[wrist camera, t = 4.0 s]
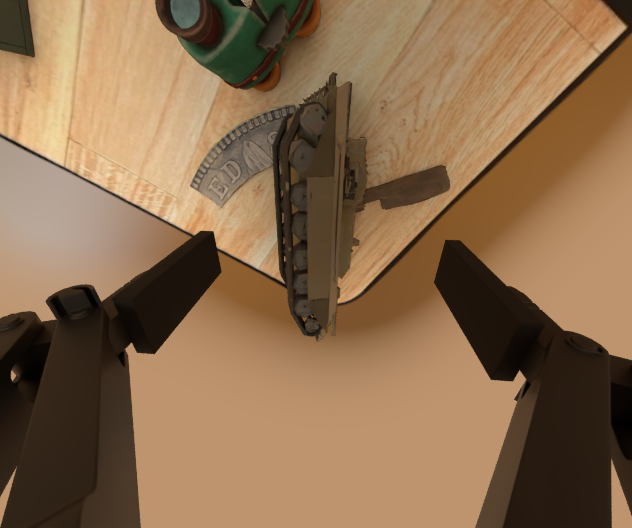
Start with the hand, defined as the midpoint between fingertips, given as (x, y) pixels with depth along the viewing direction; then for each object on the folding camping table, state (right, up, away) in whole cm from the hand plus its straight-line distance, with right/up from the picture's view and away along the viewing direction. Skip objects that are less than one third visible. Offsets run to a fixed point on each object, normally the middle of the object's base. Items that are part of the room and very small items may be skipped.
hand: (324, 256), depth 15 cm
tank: (-3, +2, +6) cm, 7 cm away
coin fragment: (-6, +7, +10) cm, 13 cm away
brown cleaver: (+7, +4, +10) cm, 13 cm away
